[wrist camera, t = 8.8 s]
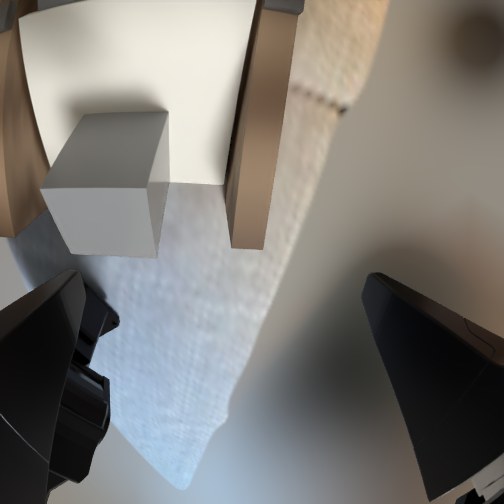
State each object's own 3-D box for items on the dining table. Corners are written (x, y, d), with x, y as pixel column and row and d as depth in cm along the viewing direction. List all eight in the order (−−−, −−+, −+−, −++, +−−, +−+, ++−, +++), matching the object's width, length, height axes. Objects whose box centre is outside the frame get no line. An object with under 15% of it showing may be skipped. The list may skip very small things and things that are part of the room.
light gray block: (170, 178, 18) (157, 258, 15) (98, 177, 18) (71, 253, 14) (169, 111, 14) (146, 188, 11) (84, 114, 13) (39, 188, 10)
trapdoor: (224, 161, 21) (223, 185, 19) (67, 158, 18) (55, 181, 17) (260, -39, 9) (265, -39, 8) (41, -21, 7) (17, -14, 6)
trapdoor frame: (247, 205, 21) (265, 257, 15) (42, 198, 18) (-11, 243, 12) (276, -1, 14) (310, -44, 8) (52, 6, 11) (-4, -17, 5)
